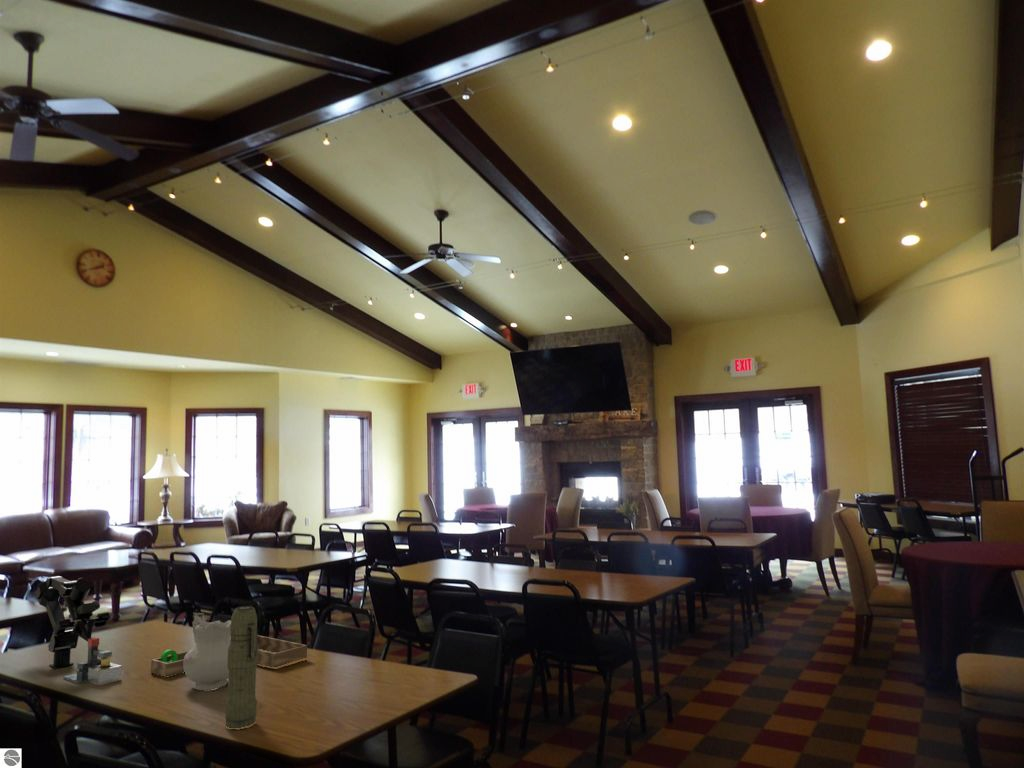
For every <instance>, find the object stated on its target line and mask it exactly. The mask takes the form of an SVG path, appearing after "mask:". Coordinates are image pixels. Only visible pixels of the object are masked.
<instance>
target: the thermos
mask: <svg viewBox="0 0 1024 768" xmlns="http://www.w3.org/2000/svg"><path fill="white" fill-rule="evenodd" d="M230 618H231V619H230V620H231V634H230V645H229V648H228V664H227V666H228V669H229V678H228V684H227V689H228V691H227V700H226V702H225V715H224V716H225V727H226V726H227V727H229V728H241V727H245V726H249V725H251V724H253V723H254V722H255V721H256V717H257V711H258V710H257V709H258V707H257V705H258V704H257V703H258V701H257V700H258V699H257V697H256V685H257V684H256V683H257V679H256V678H257V667H258V666H257V664H258V644H257V635H258V614H257V612H256V608H255V607H253V606H252V605H242V606H238V607H236V608H234V610H233V612H232V615H231V617H230Z"/></svg>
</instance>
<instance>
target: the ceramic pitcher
mask: <svg viewBox="0 0 1024 768" xmlns="http://www.w3.org/2000/svg"><path fill="white" fill-rule="evenodd" d="M194 616H195V617H194V619H193V622H192V624H193V625H192V633H193V639H194V642H195V645H194V646H193V648H191V649H190V650H188V651H189V652H188V653H187V654H186V655H185V657H184V660H183V667H184V672H185V673H184V674H185V676H186V677H187V678H188V679H189V681H191V682H192V683H195V684H194V685H193V687H194V690H197V691H201V690H211V689H215V688H219V687H221V688H223V687H225V686H227V685H228V684H227V683H228V682H229V669H228V666H227V664H228V648H229V645H230V638H231V619H230V620H227V621H225V622H223V621H221V620H215V621H212V622H210V621H209V622H207V621H206V620H205V616H204V612H203V613H202V612H201V613H200V612H196V613H195V614H194ZM226 684H227V685H226ZM222 686H223V687H222Z"/></svg>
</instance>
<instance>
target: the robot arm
mask: <svg viewBox="0 0 1024 768" xmlns="http://www.w3.org/2000/svg"><path fill="white" fill-rule="evenodd" d="M91 588H92V583H90V582H89V581H88V580H84V577H80V578H77V579H76V580H69V579H66V578H65V577H63V576H60V575H55V576H49V577H46V580H45V581H44V582H43V583H41V584H40V585H39V586H38V587H37V588H36V591H35V599H36V600H37V602H38V604H39V605H40V606H42V607H44V608H45V609H46V613H47V615H48V617H49V618H48V619H49V621H50V624H51V626H52V629H53V634H52V637H51V640H50V641H49V643H48V652H51V653H53V659H52V663H50V664H49V665H48V666H49V667H51V666H52V668H54V667H56V668H55V669H59V667H60V668H64V667H63V666H65V667H69V666H73V665H74V662H71V653H72V651H71V650H72V649H76V648H77V646H78V642H79V637H80V638H81V639H83V640H84V641H86V642H87V643H88V639H89V638H92V634H93V633H92V632H93V628H94V627H95V628H101V627H105V626H107V624H108V623H109V621H110V620H111V618H112V616H111V614H110V612H109V611H106V612H100V613H97V614H96V617H92V616H93V615H94V612H95V611H97V610H99V609H100V607H101V603H100V602H99V600H98V599H97V600H93V601H92V602H87V603H85V601H84V600H85V599H86V598H87V596H88V594H89V592H90V590H91ZM61 597H62V598H65V597H66V599H65V603H64V607H65V608H67V610H68V614H69V615H68V618H66V617H65V615H64V612H63V609H62V607H61V603H60V602H59V601H60V598H61ZM68 665H69V666H68Z"/></svg>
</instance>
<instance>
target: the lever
mask: <svg viewBox="0 0 1024 768" xmlns="http://www.w3.org/2000/svg"><path fill="white" fill-rule="evenodd" d="M99 645H100V637H96V636H94V637H91V638H89V639H88V642H87V661H84V662H85V663H88V669H89V667H94V666H98V665H100V664H99V663H97V658H102V659H103V658H108V657H110V658H111V657H112V656H113V655H112V653H113V652H112V651H111V650H103V649H99ZM88 669H87V673H88Z"/></svg>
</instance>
